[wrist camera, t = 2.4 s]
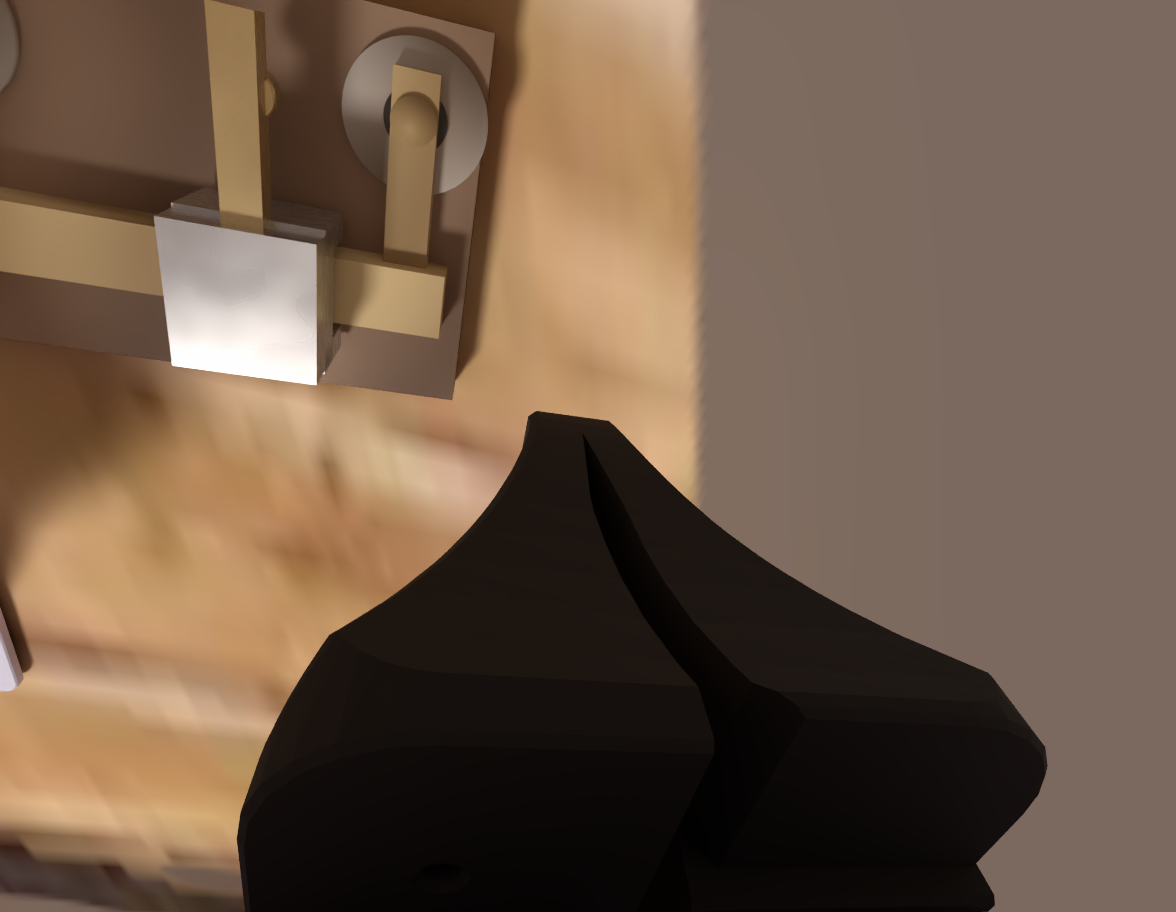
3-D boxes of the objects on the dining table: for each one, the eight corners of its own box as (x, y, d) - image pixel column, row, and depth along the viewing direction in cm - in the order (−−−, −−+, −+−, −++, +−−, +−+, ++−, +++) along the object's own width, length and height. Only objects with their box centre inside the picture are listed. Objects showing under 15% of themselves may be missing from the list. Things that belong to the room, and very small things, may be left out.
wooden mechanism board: (-94, 304, 17) (-168, 335, 15) (-244, -152, 12) (-379, -188, 10) (458, 382, 20) (453, 417, 18) (499, 35, 15) (499, 33, 13)
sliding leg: (216, 327, 16) (172, 370, 14) (188, -8, 13) (123, -21, 11) (340, 345, 17) (316, 389, 15) (346, 30, 14) (316, 26, 11)
